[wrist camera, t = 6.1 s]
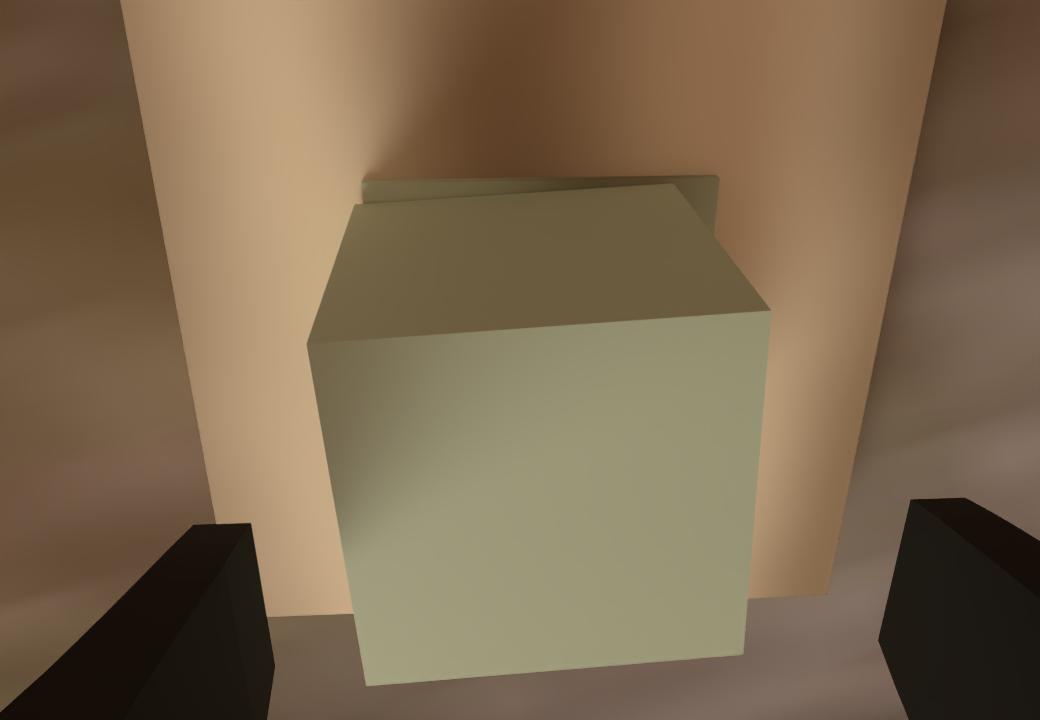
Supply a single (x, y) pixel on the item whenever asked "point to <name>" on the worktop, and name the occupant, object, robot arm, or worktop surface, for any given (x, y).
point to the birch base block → (525, 169)
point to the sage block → (540, 431)
